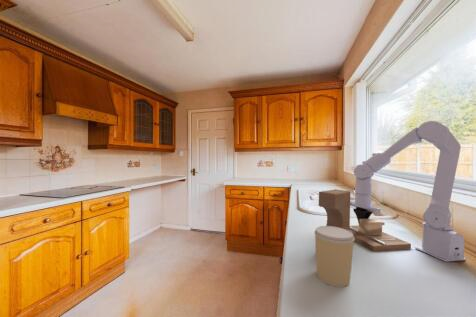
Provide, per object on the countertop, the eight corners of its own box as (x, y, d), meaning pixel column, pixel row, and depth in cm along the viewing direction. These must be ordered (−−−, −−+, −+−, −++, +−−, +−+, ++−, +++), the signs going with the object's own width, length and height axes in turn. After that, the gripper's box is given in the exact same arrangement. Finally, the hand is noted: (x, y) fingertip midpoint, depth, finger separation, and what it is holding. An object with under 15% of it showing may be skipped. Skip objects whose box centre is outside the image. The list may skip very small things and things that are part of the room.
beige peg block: (388, 234, 80) (388, 221, 80) (368, 235, 78) (368, 222, 78) (378, 230, 84) (378, 218, 84) (359, 231, 83) (359, 218, 83)
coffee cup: (340, 267, 58) (341, 225, 58) (361, 289, 49) (363, 238, 49) (308, 267, 58) (309, 225, 58) (323, 289, 48) (324, 238, 48)
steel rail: (386, 245, 70) (386, 243, 70) (383, 245, 70) (383, 243, 70) (345, 225, 90) (345, 224, 90) (343, 225, 89) (343, 224, 89)
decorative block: (333, 259, 63) (334, 194, 63) (316, 252, 68) (317, 191, 68) (350, 250, 70) (351, 191, 70) (333, 244, 74) (335, 189, 74)
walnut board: (410, 248, 72) (410, 243, 72) (373, 251, 69) (373, 245, 69) (365, 229, 91) (365, 224, 91) (335, 230, 89) (335, 226, 89)
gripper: (387, 196, 79) (386, 232, 79) (357, 190, 93) (356, 220, 93) (372, 197, 77) (371, 233, 77) (344, 191, 91) (343, 221, 91)
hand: (362, 226), depth 85 cm, fingers closed
